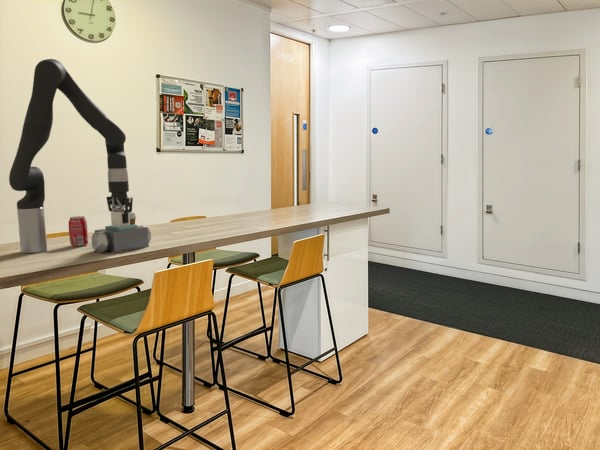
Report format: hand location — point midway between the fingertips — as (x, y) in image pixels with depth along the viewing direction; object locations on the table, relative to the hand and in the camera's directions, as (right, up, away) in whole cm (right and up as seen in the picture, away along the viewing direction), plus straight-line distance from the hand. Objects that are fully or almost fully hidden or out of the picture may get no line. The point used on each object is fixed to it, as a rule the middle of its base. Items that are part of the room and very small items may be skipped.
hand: (121, 222), depth 203 cm
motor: (0, -10, +1) cm, 10 cm away
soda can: (-21, -10, +10) cm, 25 cm away
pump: (0, -2, 0) cm, 2 cm away
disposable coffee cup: (-4, -8, +19) cm, 21 cm away
